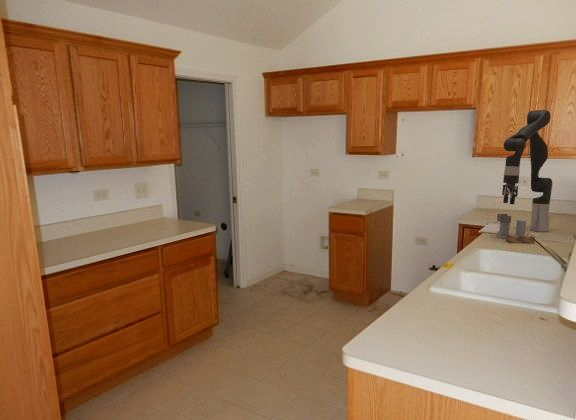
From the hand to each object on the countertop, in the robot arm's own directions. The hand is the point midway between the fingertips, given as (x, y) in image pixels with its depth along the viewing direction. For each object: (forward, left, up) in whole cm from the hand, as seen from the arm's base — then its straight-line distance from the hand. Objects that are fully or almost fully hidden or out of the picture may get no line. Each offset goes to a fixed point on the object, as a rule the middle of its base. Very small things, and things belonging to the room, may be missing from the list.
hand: (508, 203), depth 230 cm
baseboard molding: (0, -32, -22) cm, 38 cm away
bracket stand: (-5, -7, -21) cm, 22 cm away
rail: (-5, +6, -21) cm, 22 cm away
